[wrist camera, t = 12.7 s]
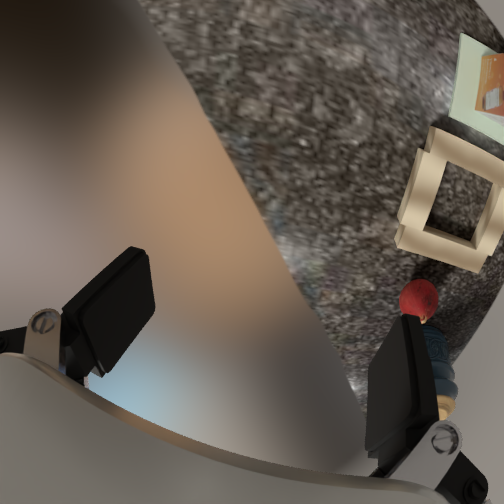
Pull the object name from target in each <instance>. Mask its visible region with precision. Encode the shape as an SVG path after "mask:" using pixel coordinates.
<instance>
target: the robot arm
mask: <svg viewBox="0 0 504 504" xmlns="http://www.w3.org/2000/svg"><path fill="white" fill-rule="evenodd" d="M62 310H63V313H62V314H61V315H60V314H59V312H58V311H56V310H55V309H51V308H49V309H47V308H46V309H43V310H40V311H38V312H36V313H35V314H34V315H33V316H32V317H31V319H30V320H29V322H28V326H26V327H21V328H16V329H10V330H6V331H0V504H491V501H490V499H488V500H486V499H485V498H486V496H487V493H488V483H487V479H486V478H485V476H484V475H483V474H482V473H481V472H480V471H479V470H478V469H477V468H476V467H475V466H474V465H473V464H472V463H471V461H470V460H469V459H468V458H467V457H466V456H465V455H464V454H463V453H462V452H461V451H460V449H461V447H462V436H461V432H460V431H459V429H458V427H457V426H456V425H455V424H454V423H452V422H451V421H447V420H440V418H439V409H438V401H437V393H436V387H435V380H434V374H433V369H432V363H431V359H430V357H429V355H428V351H427V346H426V341H425V337H424V332H423V328H422V324H421V320H420V317H419V316H416V315H411V314H407V313H404V314H403V315H402V317H401V316H398V317H397V319H396V320H395V322H394V324H393V326H392V328H391V329H390V331H389V333H388V335H387V336H386V338H385V340H384V341H383V343H382V345H381V346H380V348H379V350H378V351H377V353H376V355H375V356H374V358H373V359H372V361H371V363H370V365H369V368H368V400H367V422H366V437H365V450H367V451H368V458H378V467H377V468H376V469H375V470H374V471H373V472H372V473H371V474H370V475H369V476H368V477H363V476H352V475H341V474H333V473H327V472H319V471H313V470H306V469H300V468H294V467H289V466H284V465H280V464H275V463H270V462H266V461H262V460H258V459H254V458H250V457H247V456H243V455H239V454H236V453H232V452H229V451H226V450H223V449H219V448H216V447H213V446H210V445H207V444H204V443H202V442H199V441H196V440H193V439H190V438H188V437H185V436H183V435H180V434H177V433H175V432H173V431H170V430H168V429H166V428H163V427H161V426H159V425H156V424H154V423H152V422H150V421H147V420H145V419H143V418H141V417H139V416H137V415H135V414H133V413H131V412H129V411H127V410H125V409H123V408H121V407H119V406H117V405H115V404H114V403H112V402H110V401H108V400H106V399H104V398H102V397H101V396H99V395H97V394H96V393H94V392H92V391H91V390H89V383H88V374H89V373H90V372H92V373H94V374H96V375H97V376H99V377H101V378H102V377H103V376H104V375H105V373H109V372H110V371H111V370H112V368H113V367H114V366H115V364H116V363H117V362H118V360H119V359H120V358H121V356H122V355H123V354H124V352H125V351H126V350H127V348H128V347H129V346H130V344H131V343H132V342H133V340H134V339H135V338H136V336H137V335H138V334H139V332H140V331H141V330H142V328H143V327H144V326H145V324H146V323H147V322H148V321H149V319H150V318H151V317H152V315H153V314H154V311H155V301H154V294H153V287H152V280H151V272H150V264H149V257H148V255H147V254H146V252H145V250H143V249H140V248H136V247H132V246H131V247H129V248H127V249H126V250H125V251H124V252H123V253H122V254H120V255H119V256H118V257H117V258H116V259H115V260H113V262H111V263H110V264H109V265H108V266H107V267H106V268H104V269H103V270H102V271H101V272H100V273H99V274H98V275H97V276H95V278H93V279H92V280H91V281H90V282H89V283H88V284H87V285H86V286H85V287H84V288H82V289H81V290H80V291H79V292H78V293H77V294H76V295H75V296H74V297H73V298H72V299H71V300H70V301H69V302H68V303H67V304H66V305H65V306H64V307H63V308H62Z"/></svg>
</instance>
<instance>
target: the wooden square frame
mask: <svg viewBox="0 0 504 504" xmlns="http://www.w3.org/2000/svg"><path fill="white" fill-rule="evenodd" d="M447 161H449V162H451V163H454V164H456V165H458V166H460V167H462V168H465V169H467V170H469V171H471V172H473V173H475V174H477V175H479V176H481V177H483V178H485V179H487V180H489V181H491V182H493V186H492V188H491V191H490V194H489V197H488V200H487V202H486V205H485V208H484V210H483V213H482V215H481V218H480V220H479V223H478V225H477V227H476V230H475V232H474V234H473V236H472V239H471V241H468V240H465V239H462V238H460V237H457V236H454V235H452V234H449V233H446V232H443V231H441V230H438V229H435V228H432V227H429V226H426V225H425V223H426V221H427V218H428V215H429V213H430V210H431V207H432V205H433V202H434V199H435V196H436V194H437V191H438V188H439V185H440V182H441V179H442V175H443V172H444V169H445V166H446V162H447ZM397 217H398V219H399V221H400V225H399V228H398V230H397V233H396V235H395V238H394V239H395V242H396V245H397V248H400V249H403V250H407V251H410V252H413V253H417V254H420V255H423V256H426V257H429V258H433V259H436V260H439V261H442V262H445V263H448V264H451V265H454V266H457V267H460V268H463V269H466V270H469V271H472V272H475V273H479V271H480V269H481V267H482V265H483V263H484V261H485V259H486V257H487V255H490V256H492V254H493V252H494V250H495V248H496V246H497V244H498V242H499V239H500V237H501V235H502V233H503V231H504V161H502V160H500V159H499V158H497V157H495V156H493V155H491V154H490V153H488V152H486V151H484V150H482V149H480V148H478V147H476V146H474V145H473V144H471V143H468V142H466V141H464V140H462V139H460V138H458V137H456V136H454V135H452V134H449V133H447V132H445V131H443V130H440V129H438V128H435V127H432V126H430V128H429V132H428V136H427V140H426V144H425V147H424V150H423V149H421V148H418V150H417V154H416V158H415V161H414V165H413V168H412V171H411V175H410V178H409V181H408V184H407V188H406V191H405V194H404V197H403V200H402V203H401V206H400V209H399V211H398V214H397Z"/></svg>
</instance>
